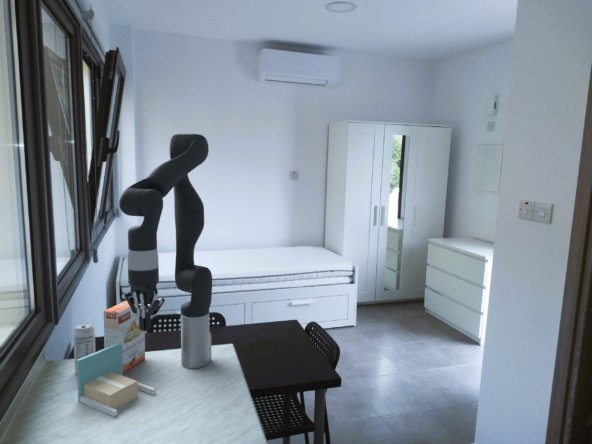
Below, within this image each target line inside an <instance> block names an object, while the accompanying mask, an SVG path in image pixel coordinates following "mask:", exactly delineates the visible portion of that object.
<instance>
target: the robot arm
mask: <svg viewBox="0 0 592 444" xmlns="http://www.w3.org/2000/svg"><path fill="white" fill-rule="evenodd" d="M168 149H169V150H168V151H169V159H168V160H166V161H164V162H163V163H161V164H158V166H155V168H154V169H152V171H151V172H150V173H149V174H147V176H146V177H144V178H143V179H141V180H139V181H137V182H134V183H133V184H131V185H130V186H128V187H126V188H125V190H123V192H122V193H121V195H120V197H119V200H118V206H119V208H120V211H121V212H122V213H123V214H124V215H126V216H130V217H143V219H142V223H141V224H138V225H133V226H131V227H129V229H128V230H127V245H128V246H127V248H128V252H127V280H128V281H127V282H128V285H129V286H130V290H129V291H128V292H125V293H124V298H125V301H126V300H127V302H128V304H129V306H130V308H131V310H132V312H133V313H136V314H137V316H138V317H139V327H140V330H141V331H145V332H147V331H149V330H151V327H152V323H151V322H152V318H151V317H152V316H155V315H157V314H158V313H159V311H160V309H161V308H162V307H163V305H164V303H165V298H164V297H160V296H159V295H158V294H159V292H158V291H159V290H158V288H157V286H158V283H159V282H160V280H159V279H160V277H159V276H160V274H159V273H160V271H159V269H160V268H159V266H160V265H159V253H158V230H159V224H160V220H161V217H162V212H163V208H164V197H166V196H167V195H168V194H169V193H170V191H172V189H173V199H174V201H173V202H174V207H173V208H174V225H175V226H174V228H175V262H174V264H175V267H174V282H175V286H176V288H177V289H178V290H180V291H181V292H185V293H189V294H191V295H190V300H189V301H187V302H186V301H185V302H184V303H182V305H180V359H181V360H180V361H181V366H183V367H185V368H186V369H199V368H203V367H206V366H207V365H208V364H209V363H210V361H211V360H212V332H210V307H211V305H212V298H213V297H212V296H213V295H212V293H213V275H212V272H211V269H209V268H208V267H207V266H204V265H198V264H197V265H196V264H195V249H196V244H197V242H198V240H199V238H200V237H201V236H202V235H201V234H202V232H203V230H204V227H205V206H204V203H203V201H202V198H201V197H200V195H199V194H198V192H197V190H196V189H195V187H194V186H193V184H192V182H191V180H190V178H189V175H188V174H189V173H191V172H192V171H193V170H194V169H196V168H198V166H201V165H202V164H203V163H204V162H205V161H206V160H207V158H208V156H209V150H210V149H209V142H208V140H207V139H206V136H204V135H202V134H198V133H176V134H173V135H172V136H171V138H170V140H169V148H168ZM134 304H135V306H134Z"/></svg>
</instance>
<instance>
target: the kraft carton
mask: <svg viewBox="0 0 592 444" xmlns="http://www.w3.org/2000/svg"><path fill="white" fill-rule="evenodd" d="M137 382H138V381H137V380H136V379H133V378H130V377H128V376H125V375H123V376H122V375H119V374H117V373H114V372H109V373H107V374H105V375H103V376H100V377H97V378H95V379H94V380H92V381H90V382H88V383H86V384H84V396H86V397H89V398H91V399H93V400H96V401H98V402H100V403H102V404H105V405H107V406H109V407H112V408H114V409H116V410H118V408H120V407H121V406H123V405H125V404H128V403H130V402H132V401H133V400H134V399H136V398H138V394H139V393H138V391H139V390H138V389H137Z"/></svg>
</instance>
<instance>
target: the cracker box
mask: <svg viewBox="0 0 592 444" xmlns="http://www.w3.org/2000/svg"><path fill="white" fill-rule="evenodd" d="M134 306H135V304H134ZM145 332H146V331H141V330H140V327H139V317H138V316H137V314H136V313H133V312H132V310H131V308H130V306H129V304H128V302H127V300H126V299H125V301H122V302H120V303H117V304H116V305H114V306H112V307H109V308H106V309H105V310H104V311H103V338H104V339H103V343H104V344H103V346H104V348H103V349H105V348H107V347H110V346H112V345H115V344H117V343H122V367H123V375H124V374H126V373H128V372H129V371H130V370H131V369H133V368H134V367H135V366H137V365H138V364H139V363H141V362H142V361H144V360H145V359H146V333H145Z"/></svg>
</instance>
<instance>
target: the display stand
mask: <svg viewBox="0 0 592 444" xmlns="http://www.w3.org/2000/svg"><path fill="white" fill-rule="evenodd" d="M76 361H77V372H76V380H77V401H78V402H79V403H82V404H84V405H86V406H88V407H90V408H92V409H95V410H97V411H99V412H102V413H104V414H106V415H109V416H111V417H113V418H115V417H117V416H118V409H114V408H112V407H109V406H107V405H105V404H102V403H100V402H98V401H96V400H93V399H91V398H89V397H86V396H84V384H86V383H88V382H90V381H92V380H94V379H95V378H97V377H100V376H103V375H105V374H107V373H109V372H114V373H117V374H119V375H122V376H124V374H123V367H122V343H117V344H115V345H112V346H110V347H107V348H105V349H104V348H102V349H99V350H98V351H95V353H92V354H90V355H87V356H85V357H82V358H80V359H78V360H76ZM137 390H138V391H141V392H144V393H147V394H149V395H151V396H153V395H156V388H155V387H153V386H149V385H147V384H145V383H141V382H139V381H137Z"/></svg>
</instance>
